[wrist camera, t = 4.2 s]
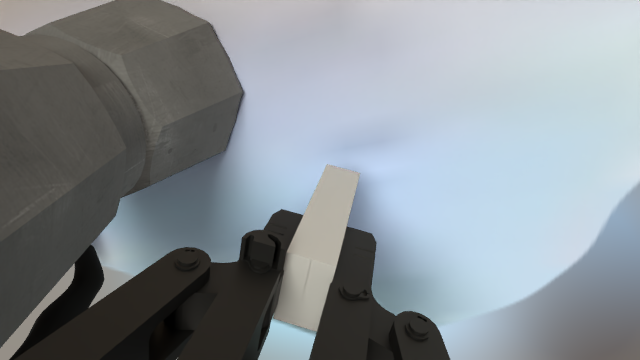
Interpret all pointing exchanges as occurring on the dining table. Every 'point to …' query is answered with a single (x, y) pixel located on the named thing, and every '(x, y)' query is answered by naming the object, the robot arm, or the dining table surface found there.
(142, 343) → the robot arm
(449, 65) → the dining table surface
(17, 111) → the coffeepot
